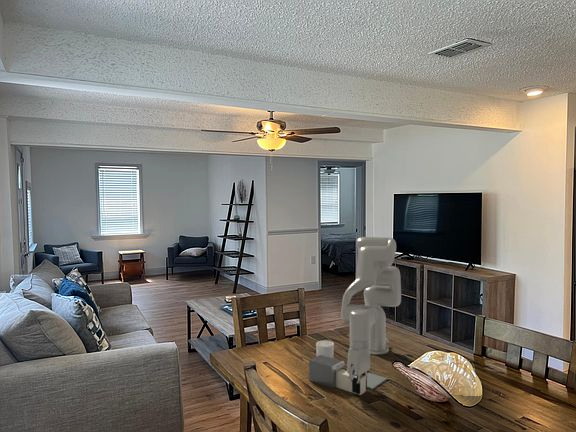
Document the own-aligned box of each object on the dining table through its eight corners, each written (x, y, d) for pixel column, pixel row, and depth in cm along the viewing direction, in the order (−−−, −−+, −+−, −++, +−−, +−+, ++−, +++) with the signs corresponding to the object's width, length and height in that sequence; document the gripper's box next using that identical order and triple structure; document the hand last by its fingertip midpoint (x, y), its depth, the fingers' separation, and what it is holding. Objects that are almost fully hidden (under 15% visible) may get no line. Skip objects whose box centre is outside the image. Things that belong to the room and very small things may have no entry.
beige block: (339, 382, 175) (339, 368, 175) (365, 391, 167) (365, 376, 167) (333, 386, 172) (333, 371, 172) (360, 395, 164) (360, 379, 164)
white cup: (333, 369, 188) (333, 347, 188) (314, 368, 190) (314, 345, 189) (334, 363, 196) (334, 341, 195) (317, 361, 197) (317, 340, 197)
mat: (357, 370, 187) (357, 369, 187) (387, 379, 178) (387, 378, 178) (341, 380, 178) (341, 378, 178) (372, 389, 169) (372, 388, 169)
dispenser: (320, 374, 183) (320, 354, 183) (344, 382, 175) (344, 361, 175) (309, 380, 177) (309, 359, 177) (333, 388, 170) (333, 367, 169)
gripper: (362, 335, 174) (362, 380, 175) (339, 346, 162) (339, 395, 163) (379, 339, 170) (379, 385, 170) (356, 351, 157) (356, 401, 158)
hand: (359, 389), depth 167 cm, fingers closed on beige block, 4 cm apart
